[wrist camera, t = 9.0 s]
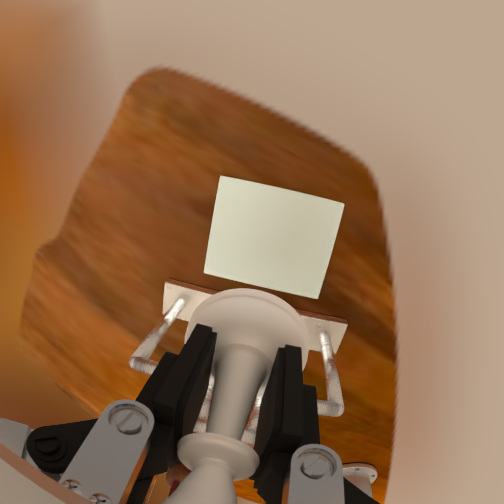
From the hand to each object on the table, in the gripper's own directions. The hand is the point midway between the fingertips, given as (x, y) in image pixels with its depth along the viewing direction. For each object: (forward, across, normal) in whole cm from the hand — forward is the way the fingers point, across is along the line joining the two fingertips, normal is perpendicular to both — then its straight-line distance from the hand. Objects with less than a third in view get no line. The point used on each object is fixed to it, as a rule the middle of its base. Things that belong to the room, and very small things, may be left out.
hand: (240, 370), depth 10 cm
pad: (+20, 0, 0) cm, 20 cm away
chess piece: (+2, 0, 0) cm, 2 cm away
